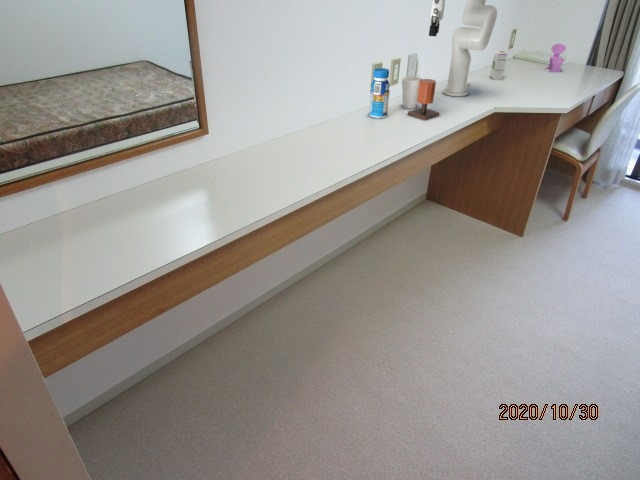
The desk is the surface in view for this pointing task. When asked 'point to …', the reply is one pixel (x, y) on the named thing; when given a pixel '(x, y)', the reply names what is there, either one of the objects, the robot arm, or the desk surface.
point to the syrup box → (498, 64)
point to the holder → (423, 113)
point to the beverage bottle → (379, 93)
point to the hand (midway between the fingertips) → (433, 34)
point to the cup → (426, 91)
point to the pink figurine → (556, 58)
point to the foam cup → (410, 91)
